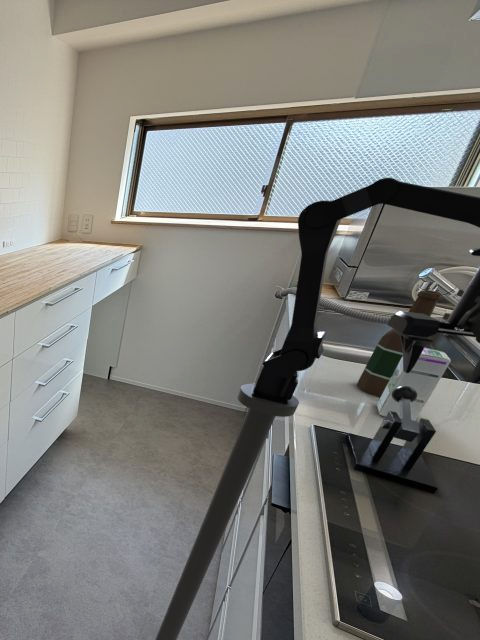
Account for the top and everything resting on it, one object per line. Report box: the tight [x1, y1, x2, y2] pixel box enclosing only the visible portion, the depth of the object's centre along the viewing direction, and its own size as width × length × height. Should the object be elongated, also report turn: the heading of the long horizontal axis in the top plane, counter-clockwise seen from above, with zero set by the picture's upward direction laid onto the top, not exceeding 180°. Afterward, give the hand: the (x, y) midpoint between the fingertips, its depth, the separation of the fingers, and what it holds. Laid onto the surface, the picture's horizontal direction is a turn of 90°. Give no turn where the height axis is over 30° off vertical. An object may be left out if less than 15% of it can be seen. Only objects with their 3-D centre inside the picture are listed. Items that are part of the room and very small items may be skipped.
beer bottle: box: [356, 289, 443, 398], centre depth 93 cm, size 8×8×24 cm
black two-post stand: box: [344, 411, 439, 494], centre depth 70 cm, size 12×10×9 cm
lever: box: [392, 386, 420, 442], centre depth 72 cm, size 12×3×3 cm, turn 145°
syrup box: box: [376, 347, 452, 421], centre depth 85 cm, size 6×6×14 cm
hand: (438, 377), depth 72 cm, fingers open, 9 cm apart
